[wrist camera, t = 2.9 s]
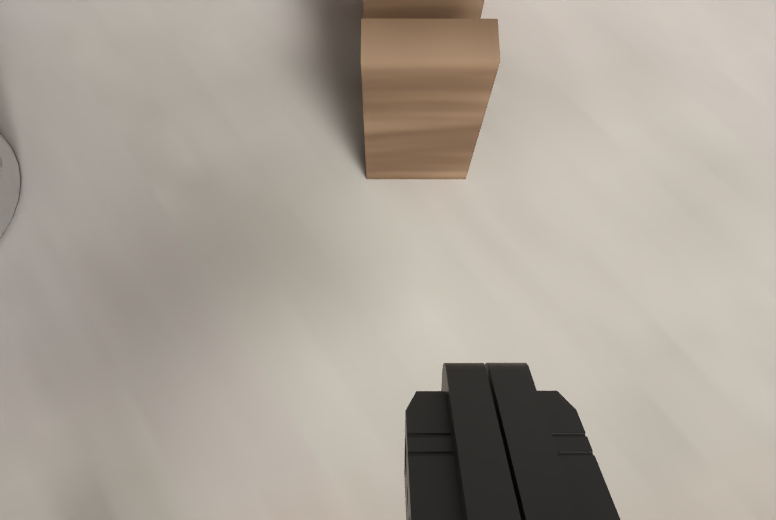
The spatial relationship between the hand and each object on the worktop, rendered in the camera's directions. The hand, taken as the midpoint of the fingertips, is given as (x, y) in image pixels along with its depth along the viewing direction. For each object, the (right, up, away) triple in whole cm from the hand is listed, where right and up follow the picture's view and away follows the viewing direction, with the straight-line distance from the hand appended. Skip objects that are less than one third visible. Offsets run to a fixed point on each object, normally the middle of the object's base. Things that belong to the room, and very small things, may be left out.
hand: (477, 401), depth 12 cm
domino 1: (0, +8, +21) cm, 22 cm away
